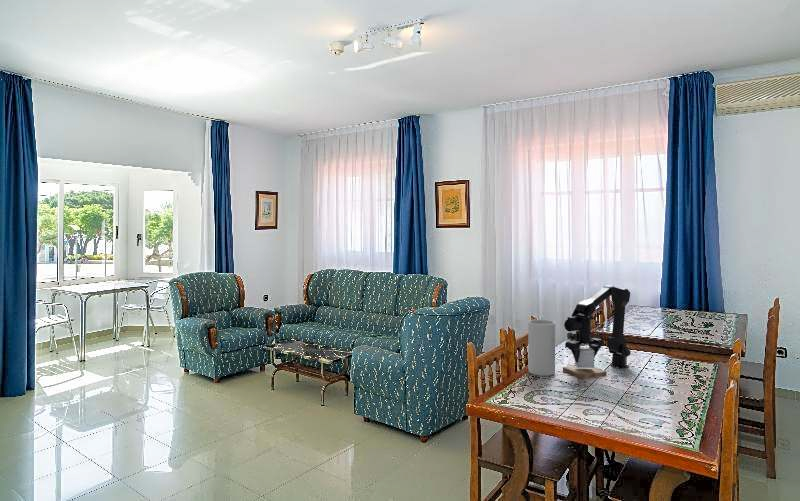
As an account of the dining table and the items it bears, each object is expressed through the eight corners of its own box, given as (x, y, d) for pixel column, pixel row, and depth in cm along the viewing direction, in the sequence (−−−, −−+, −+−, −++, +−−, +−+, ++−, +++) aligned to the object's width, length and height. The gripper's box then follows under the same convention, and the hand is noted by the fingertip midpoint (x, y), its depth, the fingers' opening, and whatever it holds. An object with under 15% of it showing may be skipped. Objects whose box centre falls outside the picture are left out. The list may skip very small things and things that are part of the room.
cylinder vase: (552, 369, 241) (552, 319, 240) (557, 376, 229) (557, 324, 227) (526, 368, 242) (526, 319, 241) (530, 376, 230) (530, 324, 229)
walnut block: (585, 367, 242) (585, 363, 242) (606, 375, 229) (606, 371, 229) (562, 371, 237) (562, 367, 237) (582, 379, 224) (582, 375, 224)
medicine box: (591, 365, 235) (591, 347, 235) (594, 368, 231) (594, 350, 230) (574, 365, 236) (575, 347, 235) (577, 367, 231) (577, 349, 231)
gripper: (587, 324, 243) (587, 355, 244) (557, 327, 237) (557, 359, 237) (604, 328, 233) (604, 360, 234) (573, 332, 226) (573, 365, 227)
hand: (584, 361), depth 233 cm, fingers closed on medicine box, 9 cm apart
